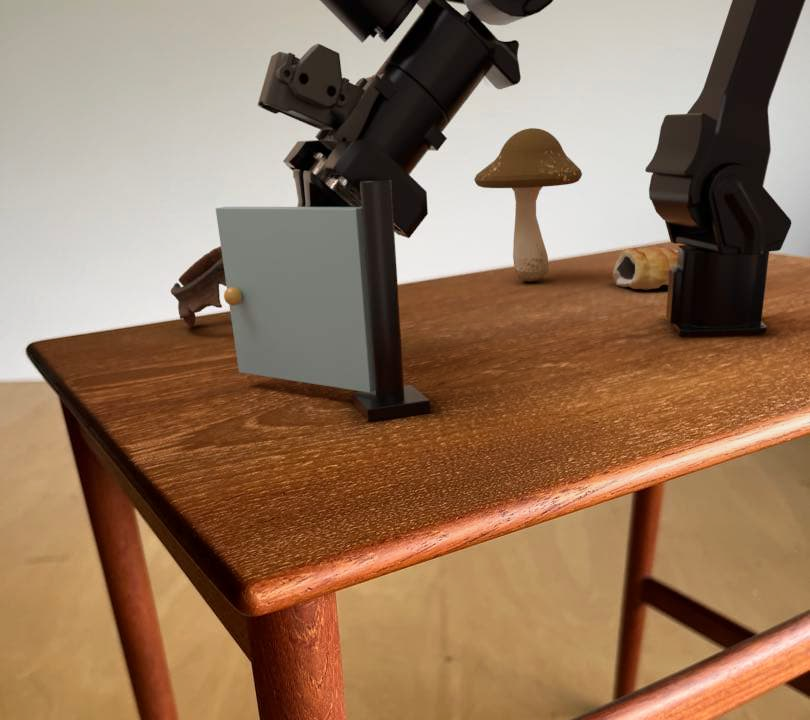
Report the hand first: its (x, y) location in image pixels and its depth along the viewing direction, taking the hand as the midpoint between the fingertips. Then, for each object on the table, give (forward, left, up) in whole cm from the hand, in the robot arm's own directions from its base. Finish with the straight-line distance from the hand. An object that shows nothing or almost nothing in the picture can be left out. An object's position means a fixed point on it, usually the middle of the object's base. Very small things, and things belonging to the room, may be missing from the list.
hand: (274, 282), depth 61 cm
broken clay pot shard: (+10, -20, -7) cm, 23 cm away
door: (-2, +5, -6) cm, 8 cm away
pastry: (-30, -32, -7) cm, 45 cm away
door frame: (-9, +8, -7) cm, 14 cm away
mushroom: (-17, -37, -7) cm, 41 cm away
